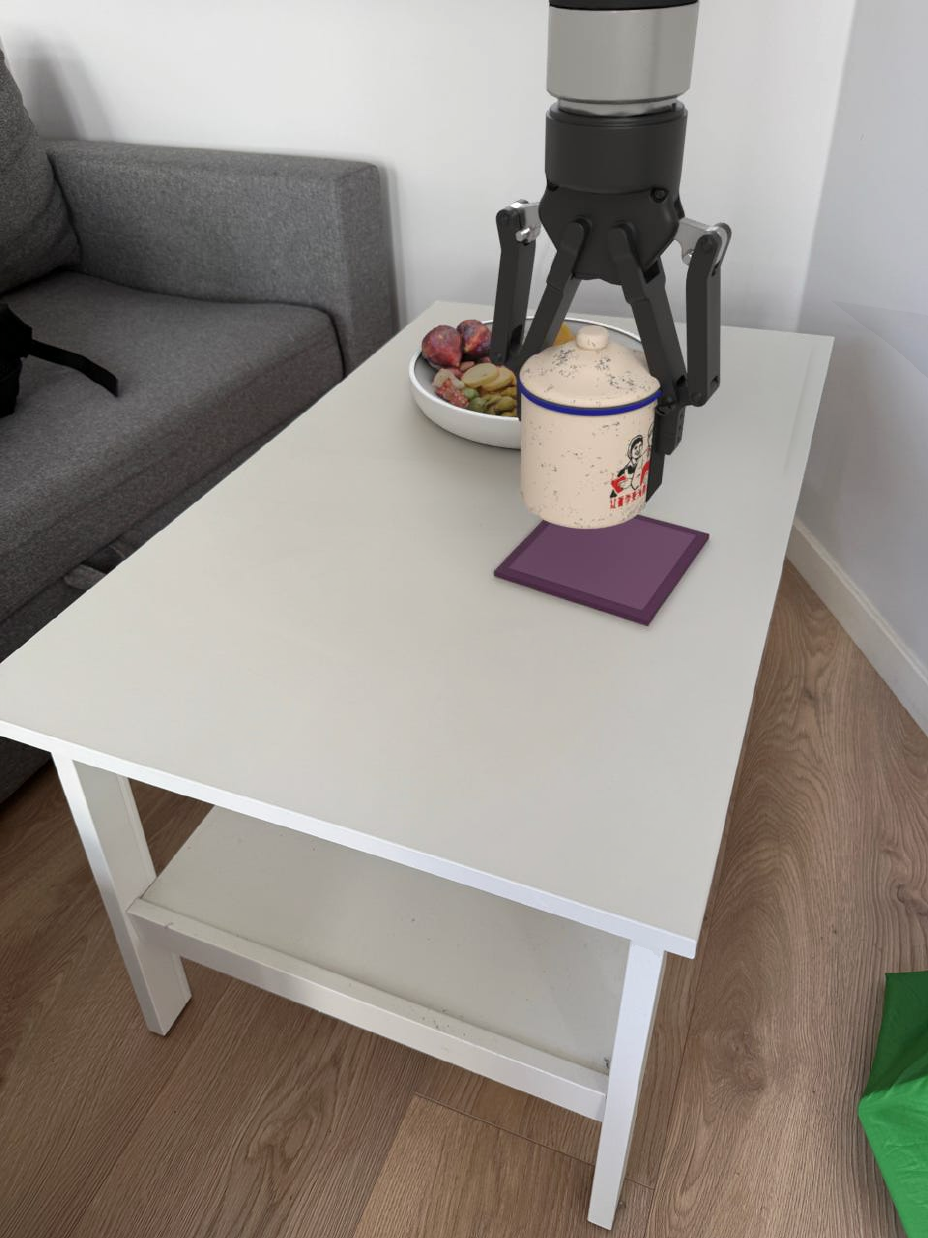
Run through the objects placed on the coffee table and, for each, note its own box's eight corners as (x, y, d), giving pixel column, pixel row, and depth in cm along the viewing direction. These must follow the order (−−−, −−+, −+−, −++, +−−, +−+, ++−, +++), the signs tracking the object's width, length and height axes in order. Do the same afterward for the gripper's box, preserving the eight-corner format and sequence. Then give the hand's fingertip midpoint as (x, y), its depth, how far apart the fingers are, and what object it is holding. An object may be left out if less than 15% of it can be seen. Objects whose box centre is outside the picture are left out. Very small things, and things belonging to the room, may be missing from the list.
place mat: (709, 538, 87) (709, 533, 86) (648, 626, 77) (648, 620, 77) (566, 499, 93) (567, 494, 93) (493, 576, 83) (493, 570, 83)
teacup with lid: (634, 544, 58) (652, 369, 50) (498, 520, 60) (496, 350, 53) (672, 455, 66) (692, 294, 59) (552, 437, 69) (556, 282, 62)
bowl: (681, 367, 117) (689, 306, 112) (627, 480, 96) (633, 411, 91) (464, 341, 126) (461, 284, 121) (369, 440, 105) (362, 375, 100)
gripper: (830, 98, 47) (756, 487, 61) (484, 78, 55) (490, 424, 69) (791, 127, 42) (720, 543, 56) (417, 100, 50) (438, 468, 64)
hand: (593, 477), depth 63 cm, fingers closed on teacup with lid, 7 cm apart
